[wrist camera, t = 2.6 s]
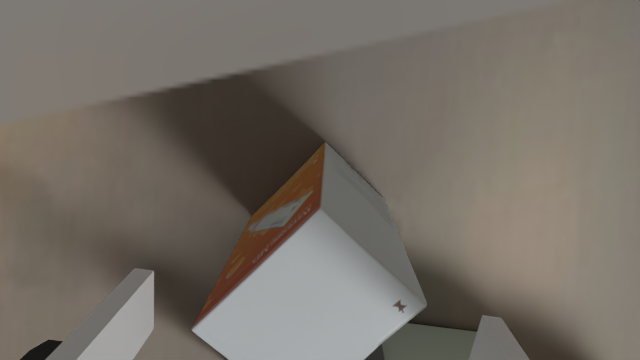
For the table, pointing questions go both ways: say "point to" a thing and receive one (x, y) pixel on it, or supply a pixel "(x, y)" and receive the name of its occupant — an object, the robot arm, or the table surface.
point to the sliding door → (425, 344)
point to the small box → (313, 273)
